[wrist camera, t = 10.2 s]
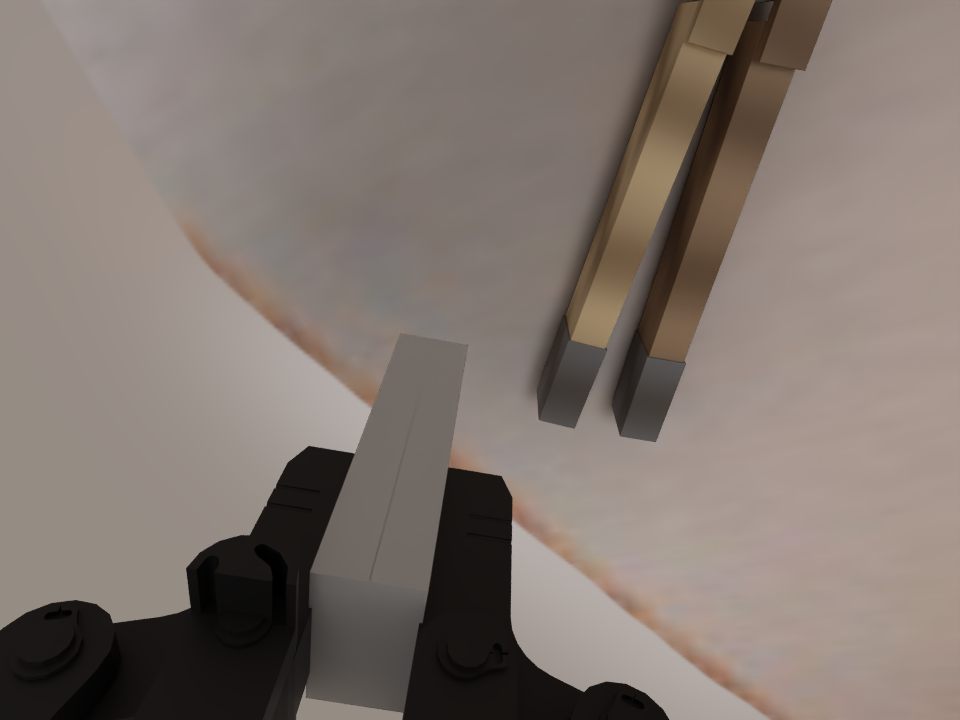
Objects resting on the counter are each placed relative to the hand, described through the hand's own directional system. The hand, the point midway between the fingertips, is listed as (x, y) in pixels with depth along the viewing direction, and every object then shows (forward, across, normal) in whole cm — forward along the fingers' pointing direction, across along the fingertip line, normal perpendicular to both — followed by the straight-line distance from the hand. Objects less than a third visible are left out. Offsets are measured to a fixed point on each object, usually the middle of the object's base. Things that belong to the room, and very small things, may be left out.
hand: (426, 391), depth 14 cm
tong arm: (+18, +7, 0) cm, 20 cm away
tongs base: (+18, +10, +1) cm, 21 cm away
